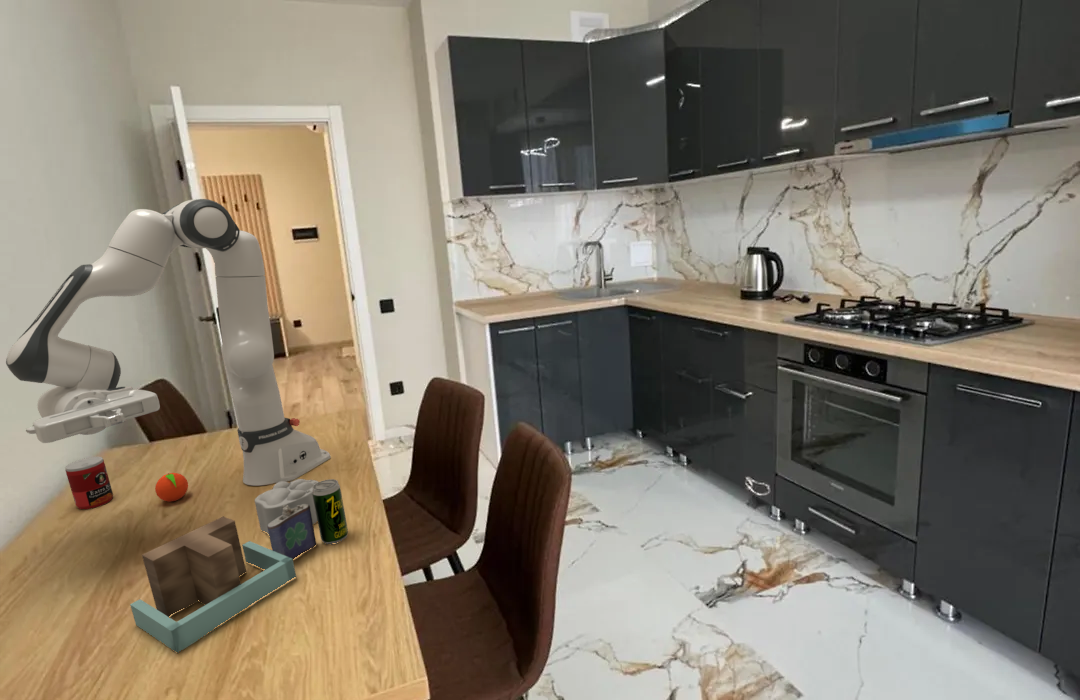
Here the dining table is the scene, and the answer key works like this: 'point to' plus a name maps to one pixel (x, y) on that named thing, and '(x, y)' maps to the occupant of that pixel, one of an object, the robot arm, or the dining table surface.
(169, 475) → the clementine
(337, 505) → the beer can
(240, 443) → the robot arm
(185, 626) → the fence
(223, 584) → the t block
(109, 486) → the canned food
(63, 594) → the dining table surface
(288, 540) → the flask
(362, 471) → the dining table surface
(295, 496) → the grey bumpy block
